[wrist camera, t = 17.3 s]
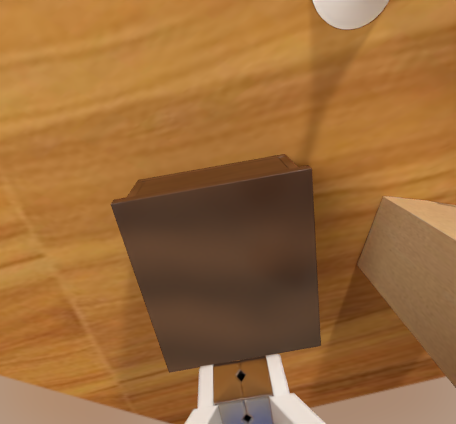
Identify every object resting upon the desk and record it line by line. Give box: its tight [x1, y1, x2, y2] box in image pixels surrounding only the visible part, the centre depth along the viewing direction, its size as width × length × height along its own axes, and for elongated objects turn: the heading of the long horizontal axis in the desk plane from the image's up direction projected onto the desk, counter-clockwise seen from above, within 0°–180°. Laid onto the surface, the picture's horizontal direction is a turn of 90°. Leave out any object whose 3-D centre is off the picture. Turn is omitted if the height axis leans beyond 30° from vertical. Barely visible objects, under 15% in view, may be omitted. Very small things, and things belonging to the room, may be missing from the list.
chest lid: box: [111, 165, 321, 372], centre depth 24 cm, size 16×14×1 cm
